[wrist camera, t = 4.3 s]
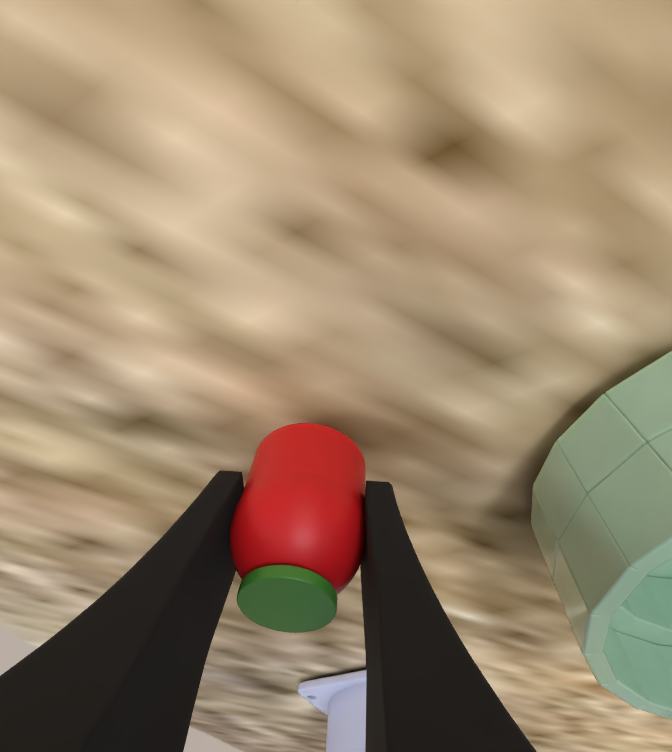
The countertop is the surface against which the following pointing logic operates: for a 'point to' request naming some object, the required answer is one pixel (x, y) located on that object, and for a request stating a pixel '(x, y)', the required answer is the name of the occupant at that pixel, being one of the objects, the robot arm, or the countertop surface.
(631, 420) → the bowl
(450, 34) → the countertop surface
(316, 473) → the strawberry
